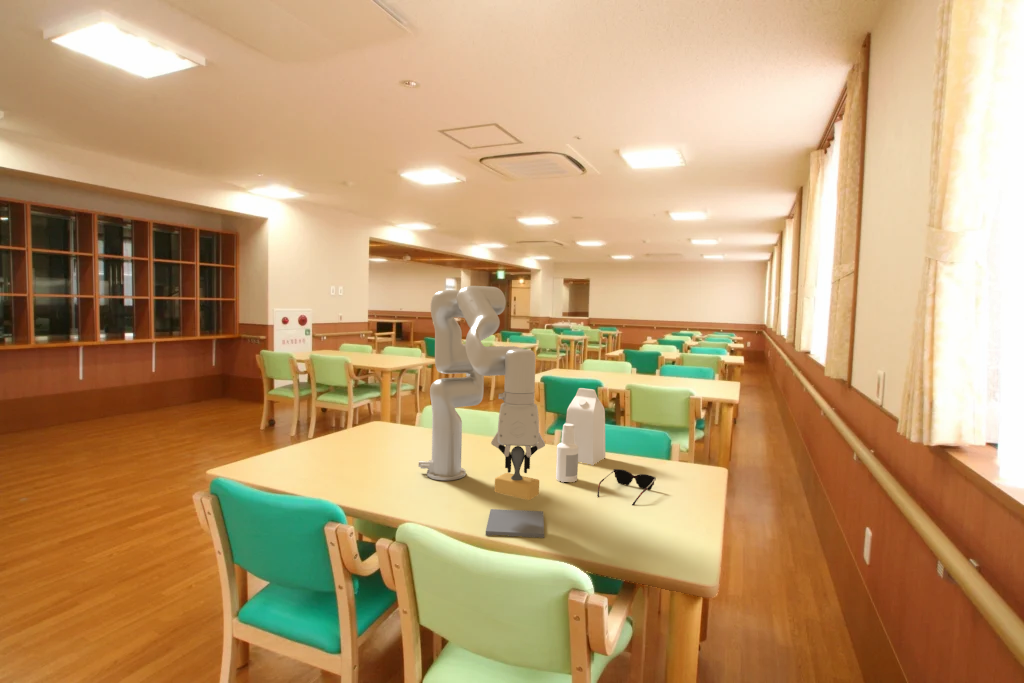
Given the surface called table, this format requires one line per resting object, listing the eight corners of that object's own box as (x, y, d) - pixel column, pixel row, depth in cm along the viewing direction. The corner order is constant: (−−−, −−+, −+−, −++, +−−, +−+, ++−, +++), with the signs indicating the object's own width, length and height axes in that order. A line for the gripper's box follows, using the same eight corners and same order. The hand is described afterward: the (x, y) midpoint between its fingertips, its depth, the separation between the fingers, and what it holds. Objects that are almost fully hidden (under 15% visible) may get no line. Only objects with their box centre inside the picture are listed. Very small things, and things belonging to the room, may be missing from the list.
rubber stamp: (493, 492, 131) (495, 445, 131) (505, 486, 136) (507, 440, 136) (528, 500, 126) (530, 451, 126) (539, 493, 131) (541, 446, 131)
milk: (605, 458, 195) (608, 388, 193) (592, 465, 185) (595, 392, 183) (576, 452, 201) (578, 385, 199) (562, 459, 191) (564, 389, 190)
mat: (485, 535, 125) (485, 531, 125) (490, 512, 139) (490, 509, 139) (543, 537, 125) (544, 533, 125) (543, 514, 139) (543, 511, 139)
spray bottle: (576, 484, 164) (578, 427, 163) (554, 482, 166) (556, 426, 165) (578, 477, 171) (579, 423, 170) (557, 475, 172) (558, 421, 171)
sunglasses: (656, 492, 160) (656, 476, 160) (637, 511, 147) (638, 494, 146) (613, 483, 168) (613, 467, 167) (592, 500, 154) (592, 484, 154)
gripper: (484, 400, 127) (483, 474, 128) (553, 402, 126) (550, 477, 127) (487, 395, 134) (486, 465, 135) (552, 397, 133) (550, 468, 135)
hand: (517, 470), depth 131 cm, fingers closed on rubber stamp, 3 cm apart
